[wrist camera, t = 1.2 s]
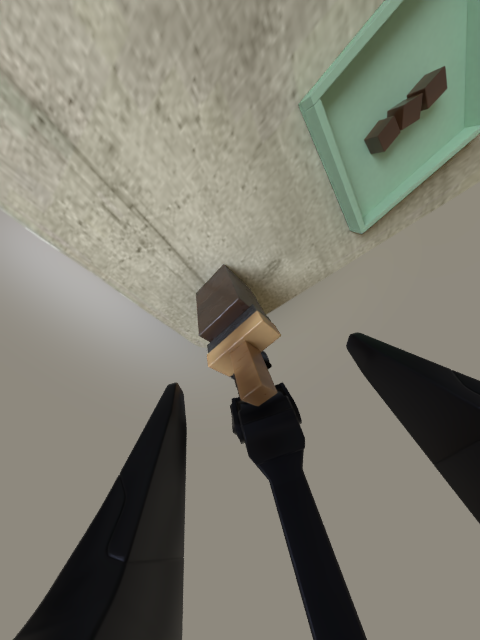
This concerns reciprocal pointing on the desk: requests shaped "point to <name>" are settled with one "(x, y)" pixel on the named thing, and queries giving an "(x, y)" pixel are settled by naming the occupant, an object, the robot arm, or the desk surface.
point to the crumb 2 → (407, 111)
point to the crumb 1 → (382, 135)
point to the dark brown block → (222, 302)
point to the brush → (246, 354)
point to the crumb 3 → (430, 87)
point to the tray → (389, 90)
